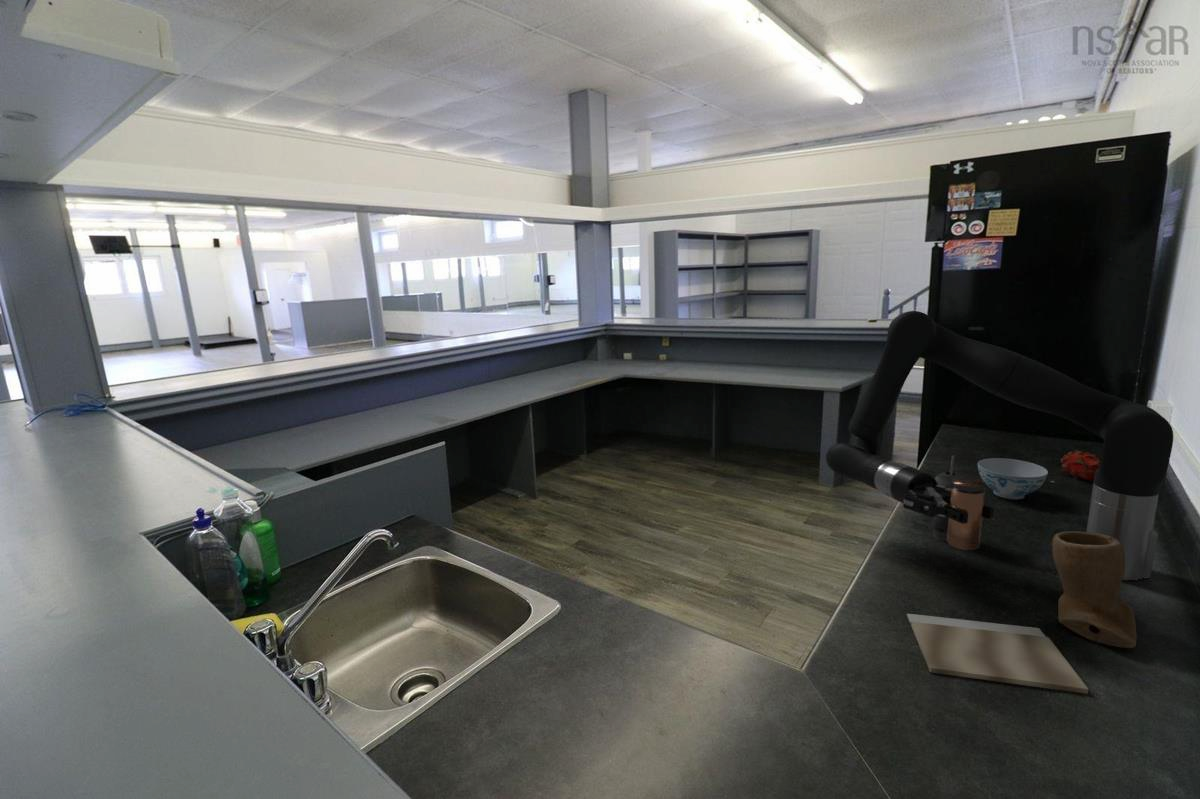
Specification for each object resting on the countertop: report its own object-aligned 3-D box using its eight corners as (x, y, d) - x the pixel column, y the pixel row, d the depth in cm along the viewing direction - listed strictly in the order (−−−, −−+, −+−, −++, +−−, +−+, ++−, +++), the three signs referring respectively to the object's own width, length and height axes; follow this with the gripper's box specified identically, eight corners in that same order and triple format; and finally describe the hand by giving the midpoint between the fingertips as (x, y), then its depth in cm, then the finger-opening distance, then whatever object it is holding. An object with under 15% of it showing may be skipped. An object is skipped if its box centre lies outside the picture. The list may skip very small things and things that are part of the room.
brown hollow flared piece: (1047, 590, 105) (1057, 516, 102) (1134, 613, 97) (1148, 534, 94) (1037, 629, 94) (1048, 547, 91) (1134, 658, 86) (1150, 570, 83)
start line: (1038, 629, 94) (1039, 628, 94) (1045, 638, 92) (1045, 636, 91) (906, 615, 99) (907, 613, 99) (910, 622, 97) (910, 621, 97)
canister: (974, 538, 103) (980, 477, 101) (984, 551, 98) (991, 487, 96) (942, 535, 105) (947, 475, 102) (951, 549, 100) (956, 486, 97)
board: (1047, 641, 91) (1048, 637, 91) (1087, 693, 80) (1088, 689, 79) (911, 625, 96) (911, 621, 96) (930, 672, 85) (930, 667, 85)
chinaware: (982, 502, 144) (985, 474, 143) (969, 482, 158) (971, 456, 156) (1053, 508, 139) (1057, 479, 137) (1033, 487, 152) (1037, 460, 151)
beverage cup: (961, 533, 128) (969, 450, 124) (966, 547, 122) (975, 460, 118) (925, 528, 132) (931, 447, 127) (928, 542, 125) (935, 457, 121)
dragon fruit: (1055, 477, 163) (1106, 494, 153) (1051, 466, 157) (1104, 484, 148) (1068, 452, 163) (1121, 467, 154) (1065, 440, 158) (1119, 456, 149)
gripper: (875, 471, 111) (947, 502, 95) (934, 461, 115) (1013, 490, 98) (873, 506, 113) (944, 542, 97) (931, 495, 116) (1009, 529, 100)
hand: (978, 515), depth 98 cm, fingers closed on canister, 5 cm apart
